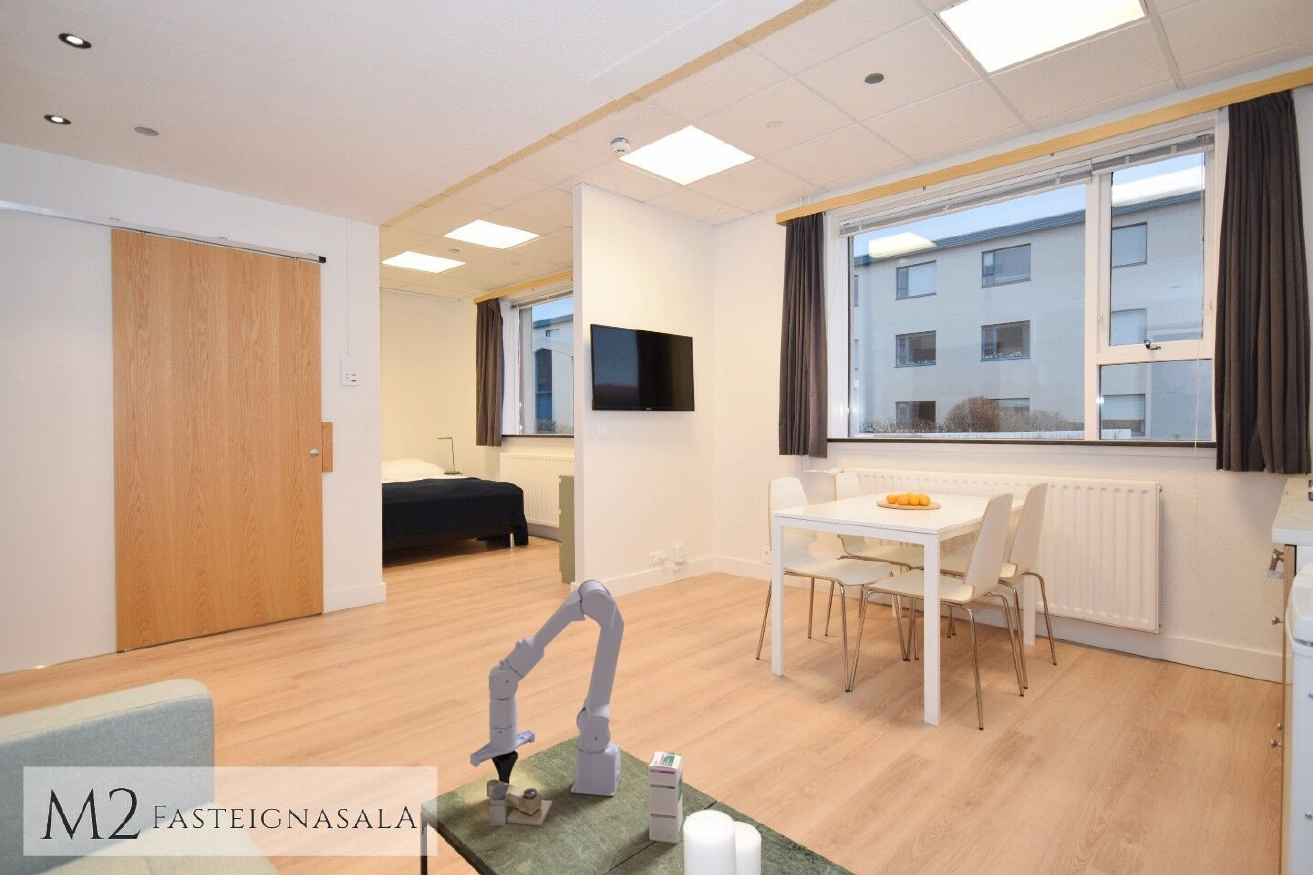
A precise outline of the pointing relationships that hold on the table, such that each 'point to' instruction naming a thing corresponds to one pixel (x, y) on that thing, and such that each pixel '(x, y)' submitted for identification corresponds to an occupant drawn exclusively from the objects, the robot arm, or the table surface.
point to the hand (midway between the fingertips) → (503, 786)
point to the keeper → (498, 805)
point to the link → (517, 797)
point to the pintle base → (527, 818)
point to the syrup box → (665, 797)
